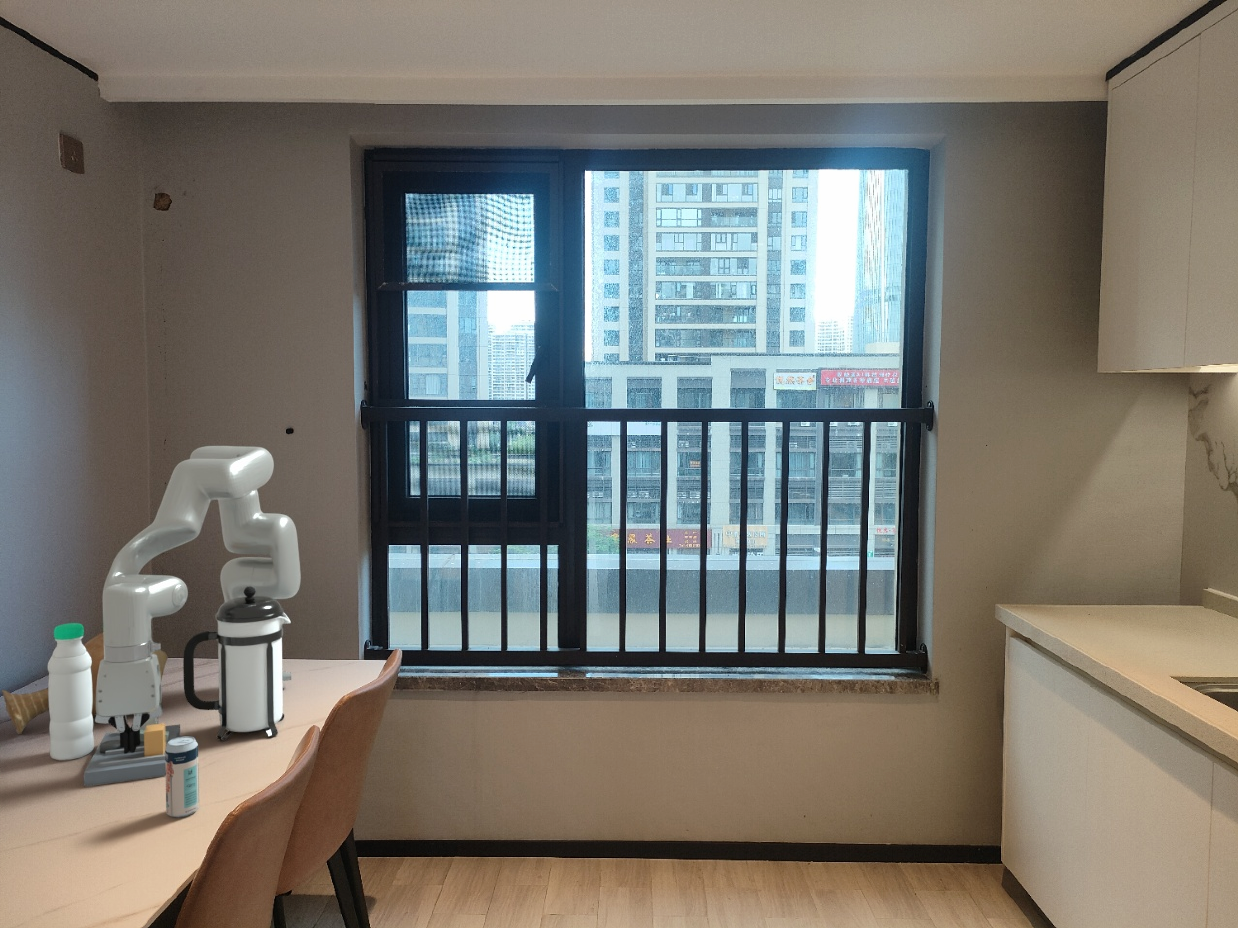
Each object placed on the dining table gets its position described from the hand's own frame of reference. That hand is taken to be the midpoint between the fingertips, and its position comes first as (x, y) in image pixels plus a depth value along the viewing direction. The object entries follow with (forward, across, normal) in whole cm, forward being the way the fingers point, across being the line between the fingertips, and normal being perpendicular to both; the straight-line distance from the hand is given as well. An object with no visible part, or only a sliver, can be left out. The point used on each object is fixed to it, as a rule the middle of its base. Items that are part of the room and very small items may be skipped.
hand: (130, 750), depth 154 cm
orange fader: (+1, -4, 0) cm, 4 cm away
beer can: (+4, -11, +22) cm, 24 cm away
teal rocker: (0, -3, -5) cm, 6 cm away
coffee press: (+4, -19, -14) cm, 23 cm away
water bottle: (+4, +12, -12) cm, 17 cm away
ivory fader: (+1, -2, -10) cm, 10 cm away
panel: (+4, 0, -5) cm, 6 cm away
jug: (+4, +12, -33) cm, 36 cm away
